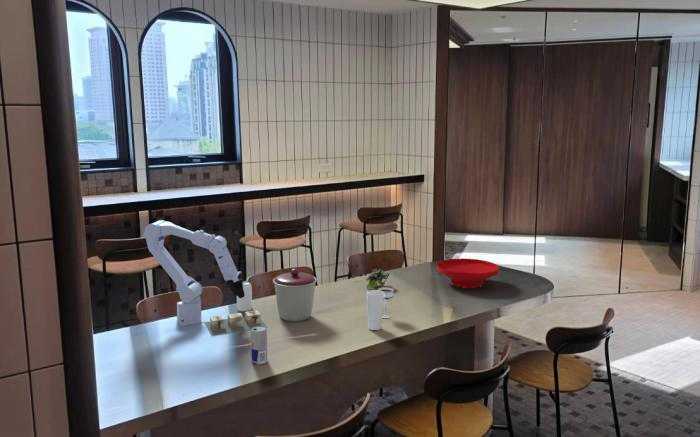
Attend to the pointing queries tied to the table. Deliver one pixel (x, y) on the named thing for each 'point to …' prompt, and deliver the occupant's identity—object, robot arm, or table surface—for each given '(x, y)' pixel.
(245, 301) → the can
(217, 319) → the beige square block
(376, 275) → the green leafy plant
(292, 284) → the canister
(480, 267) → the bowl
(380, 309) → the drinking glass
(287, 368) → the table surface
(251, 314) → the block numbered 7
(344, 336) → the table surface
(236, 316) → the plain block
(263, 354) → the energy drink
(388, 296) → the wineglass
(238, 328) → the mat
